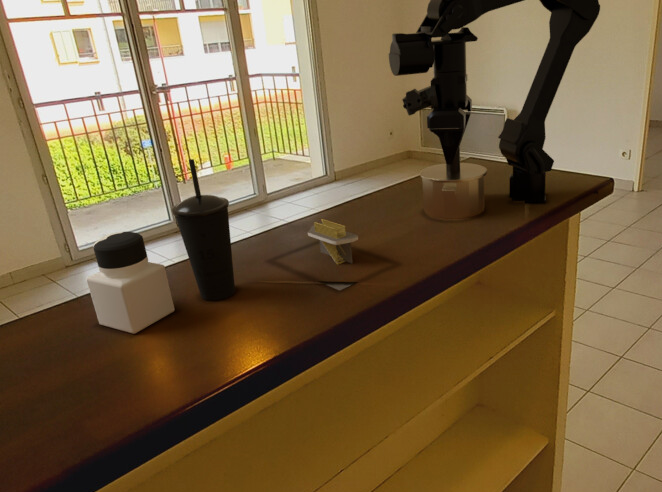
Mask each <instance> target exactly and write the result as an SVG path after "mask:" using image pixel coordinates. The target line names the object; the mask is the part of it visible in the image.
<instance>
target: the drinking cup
mask: <svg viewBox="0 0 662 492" xmlns="http://www.w3.org/2000/svg"><path fill="white" fill-rule="evenodd" d="M188 163H189V168H190V174H191V178H192V183H193V188H194V194H195V195H193V196H190V197H187V198H184V199H183V200H182V201H180V202H179V203H176V204H175V205H174V206H172V208H171V213H172V215H173V216H175V219H176V223H177V226H178V229H179V232H180V235H181V238H182V242H183V244H184V247H185V251H186V254H187V257H188V260H189V263H190V266H191V269H192V272H193V276H194V279H195V282H196V285H197V288H198V291H199V294H200V297H201V299H202V300H203V301H204V300H205V301H207V302H216V301H222V300H226V299H227V298H228V299H229V298H230V297H231V296H233V295H234V294H235V292H236V286H235V275H234V264H233V252H232V251H233V250H232V241H231V229H230V217H229V208H228V207H229V206H230V201H229V200H228V199H227V198H226V197H221V196H218V195H215V194H201V188H200V184H199V177H198V172H197V168H196V163H195V159H194V158H192V159H188Z"/></svg>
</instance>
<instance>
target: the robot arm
mask: <svg viewBox="0 0 662 492" xmlns="http://www.w3.org/2000/svg"><path fill="white" fill-rule="evenodd" d="M524 1H525V0H429V2H428V4H427V7H426V8H427V9H426V14H425V16H424V18H423V20H422V22H421V23H420V25H419V27H418V28H417V30H416V32H410V33H401V32H397V33H392V35H391V38H392V41H391V43H390V46H389V53H388V62H389V68H390V71H391V73H392V75H393V76H394V77H398V76H407V75H419V74H427V73H428V72H429V70H430V69H431V68H433V69H432V70H433V77H432V78H431V80H430V85H428V86H426V87H424V88H422V89H421V88H420V89H419V90H418V89H417V88H412V89H411V90H408V91H405V96H404V97H402V99H401V100H402V104H403V105H402V107H403V109H405V110H406V113H407V115H408V116H412V115H415V114H416V113H418V112H420V111H422V110H424V109H426V108H429V107H430V109H431V110H432V111H430V113H428V115H427V116H426V127H427V129H428V130H429V131H430V132H431V133H433V134H434V135H436V136H437V137H438V139H439V143H440V146H441V150H442V153H443V158H444V161H445V163H446V164H447V165H452V164H453V161H454V158H455V155H456V153H457V150H458V147H461V143H462V140H463V138H464V134H465V132H466V129H467V126H468V123H469V121H470V118H471V115H472V110H473V100H472V98H471V97H470V96H469V95H468V94H467V93H468V92H467V91H468V90H467V81H468V73H467V44H466V43H472V42H477V41H478V39H479V38H478V36H477V35H475V34H474V33H473V32H472V31H471V30H470V28H469V27H466V26H468V25H470V24H471V23H473V22H475V21H477V20H478V19H479V18H480V17H482V16H483V15H485V14H486V13H488V12H492V11H495V10H498V9H501V8H505V7H508V6H512V5H514V4H518V3H521V2H524ZM538 1H539V2H540V4H541V5H542V7H544V9H546V10H547V11H549V12H550V17H549V21H548V25H549V26H548V27H549V39H548V42H547V45H546V47H545V49H544V53H543V56H542V57H541V60H540V62H539V65H538V68H537V70H536V73H535V75H534V78H533V80H532V83H531V85H530V87H529V90H528V93H527V95H526V98H525V100H524V103H523V106H522V108H521V111H520V112H519V113H518V115H517V116H515V118H514V119H512V118H509V117H506V119H505V121H504V124H503V128H502V131H501V132H500V134H499V135H498V136H497V137H498V139H499V144H498V149H499V150H500V151H499V152H500V153H501V155H502V156H503V157H504V158H505V159H506V162H507V165H508V166H510V167H512V173H510V174H509V198H511V202H524V203H526V204H531V203H533V204H537V203H538V204H541V203H546V202H547V198H546V174H547V173H548V172H551V171H552V168H553V166H554V162H555V160H554V159H553V158H552V156H551V155H550V154H548V153H547V151H545V150H544V146H545V142H546V139H547V138H546V120H547V117H548V115H549V112H550V110H551V107H552V105H553V102H554V99H555V98H556V94H557V93H558V90H559V88H560V85H561V83H562V81H563V77H564V75H565V72H566V70H567V68H568V65H569V63H570V61H571V58H572V55H573V53H574V50H575V48H576V47H577V45H578V44H580V42H581V41H582V40H583V39H584V38H585V37H586V36H587V35H588V34H589V32H591V29H592V28H593V26H594V24H595V22H596V20H597V19H598V17H599V15H600V11H601V4H600V2H599V0H538ZM452 30H453V31H454V30H459V31H457V32H451V31H452ZM432 38H435V40H432ZM436 38H440V39H436ZM465 110H466V111H465Z"/></svg>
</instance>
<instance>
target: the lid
mask: <svg viewBox="0 0 662 492" xmlns="http://www.w3.org/2000/svg"><path fill="white" fill-rule="evenodd" d="M487 173H488V169H487V168H486V167H485V166H483V165H481V164H477V163H472V162H471V163H470V162H461V146H459V147H458V150H457V153H456V155H455V158H454V161H453V164H452V165H447V164H446V162H444V163H438V164H433V165H430V166H427V167H425V168H423V169H421V170H420V172H419V176H420V178H421V179H422V178H423V179H425V180H428V181H432V182H440V183H458V182H467V181H472V180H476V179H479V178H482V177H484V178H485V176H486V175H487Z"/></svg>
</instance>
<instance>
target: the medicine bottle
mask: <svg viewBox="0 0 662 492" xmlns="http://www.w3.org/2000/svg"><path fill="white" fill-rule="evenodd" d="M92 248H93V252H94V255H95V259H96V263H97V266H98V272H96V273H93V274H92V275H89V276H87V277H86V283H87V286H88V290H89V293H90V296H91V300H92V304H93V307H94V310H95V314H96V318H97V321H98V324H99V325H101V326H104V327H107V328H111V329H115V330H118V331H122V332H125V333H130V334H132V335H134V334H137V333H139V332H140V331H143V330H144V329H146V328H147V327H149V326H151V325H153V324H155V323H156V322H158V321H160V320H162V319H164V318H166V317H167V316H169V315H170V314H172V313H174V312H175V310H176V309H175V304H174V299H173V295H172V291H171V287H170V283H169V277H168V274H167V270H166V266H165V265H164V264H161V263H156V262H152V261H151V262H150V261H149V257H148V253H147V249H146V245H145V241H144V236H143V235H142V234H140V233H138V232H133V231H118V232H113V233H110V234H107V235H104V236H102V237H100V238H99V239H97V240H96V241H95V242H94V243H93V246H92Z"/></svg>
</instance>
